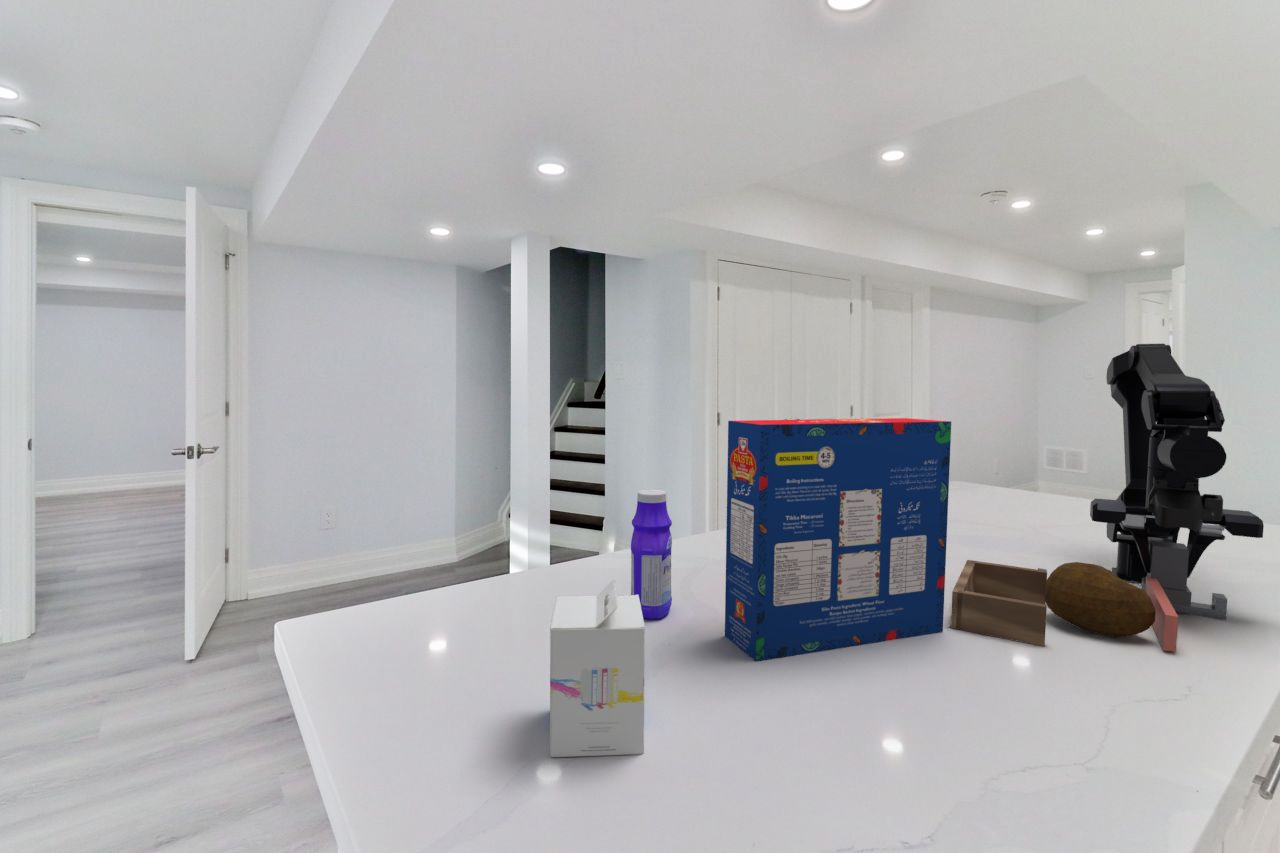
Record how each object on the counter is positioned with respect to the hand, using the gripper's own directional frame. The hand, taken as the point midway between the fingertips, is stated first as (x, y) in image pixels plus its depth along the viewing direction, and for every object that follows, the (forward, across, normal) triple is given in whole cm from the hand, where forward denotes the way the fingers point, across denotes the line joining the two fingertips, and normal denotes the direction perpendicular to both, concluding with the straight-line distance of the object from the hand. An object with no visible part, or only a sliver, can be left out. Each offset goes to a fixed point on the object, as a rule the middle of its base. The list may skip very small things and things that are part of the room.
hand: (1166, 574), depth 92 cm
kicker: (+5, 0, -9) cm, 10 cm away
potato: (+5, -10, -16) cm, 19 cm away
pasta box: (+5, -38, -37) cm, 53 cm away
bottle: (+5, -62, -43) cm, 76 cm away
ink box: (+5, -50, -72) cm, 88 cm away
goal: (+5, -20, -17) cm, 26 cm away
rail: (+5, -5, 0) cm, 7 cm away
